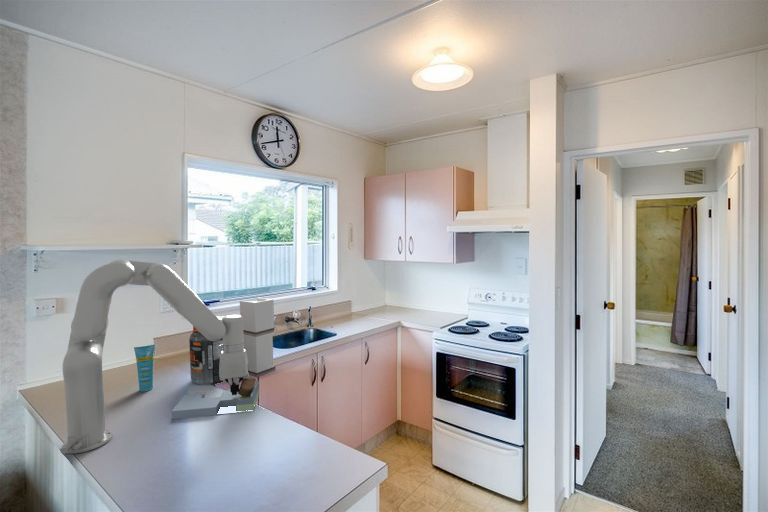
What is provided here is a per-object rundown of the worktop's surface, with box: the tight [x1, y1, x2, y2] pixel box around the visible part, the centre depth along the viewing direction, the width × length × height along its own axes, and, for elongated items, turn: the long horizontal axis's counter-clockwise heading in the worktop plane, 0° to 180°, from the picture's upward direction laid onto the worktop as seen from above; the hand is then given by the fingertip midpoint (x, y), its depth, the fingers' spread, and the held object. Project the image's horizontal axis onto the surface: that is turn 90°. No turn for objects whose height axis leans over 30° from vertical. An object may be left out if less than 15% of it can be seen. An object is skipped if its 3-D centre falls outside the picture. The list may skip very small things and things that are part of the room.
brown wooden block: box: [238, 376, 257, 397], centre depth 148 cm, size 5×5×6 cm
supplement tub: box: [188, 325, 223, 385], centre depth 173 cm, size 16×16×26 cm
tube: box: [133, 344, 155, 392], centre depth 162 cm, size 7×5×19 cm, turn 123°
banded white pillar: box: [239, 297, 276, 378], centre depth 182 cm, size 11×11×35 cm
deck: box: [171, 380, 260, 420], centre depth 145 cm, size 15×28×6 cm, turn 101°
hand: (234, 393), depth 147 cm, fingers closed
